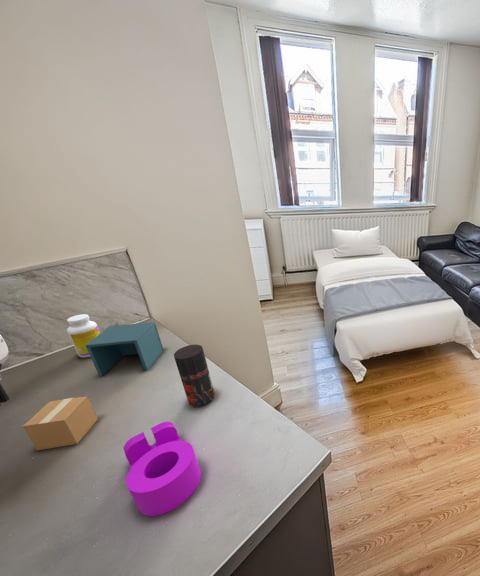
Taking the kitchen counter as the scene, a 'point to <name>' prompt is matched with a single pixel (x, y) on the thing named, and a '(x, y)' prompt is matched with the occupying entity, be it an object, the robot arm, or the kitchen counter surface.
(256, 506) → the kitchen counter surface
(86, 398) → the box
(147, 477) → the magenta ring bracket
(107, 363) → the shelf
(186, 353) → the deodorant
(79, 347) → the supplement bottle
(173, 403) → the kitchen counter surface
